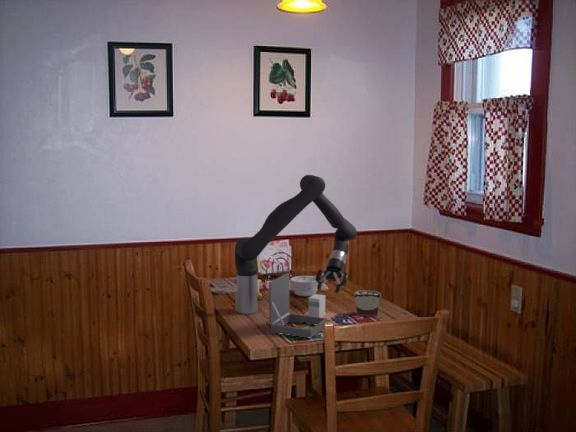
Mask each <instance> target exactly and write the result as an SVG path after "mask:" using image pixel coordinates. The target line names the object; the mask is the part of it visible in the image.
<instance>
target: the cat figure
mask: <svg viewBox="0 0 576 432" xmlns="http://www.w3.org/2000/svg"><path fill="white" fill-rule="evenodd" d="M257 280H258V300H259V301H262V300H264V298H263V294H262V292H265V291H266V290H267V285H266V283H264V282H263V281H262V280H261V279H258V278H257ZM260 289H263V290H262V292H260Z"/></svg>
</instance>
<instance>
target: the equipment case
mask: <svg viewBox="0 0 576 432" xmlns="http://www.w3.org/2000/svg"><path fill="white" fill-rule="evenodd" d="M268 284H269V285H268V286H269V287H268V289H269V290H268V293H269V295H268V297H269V299H268V303H269V305H268V306H269V307H268V310H269V313H268V314H269V316H268V317H269V318H268V319H269V322H268V323H269V325H270V332H271V333H270V334H274V333H283V334H289V335H295V336H303V337H312V336H314V335H315V334H317V333H318V332H319V331H321V330H322V328H323V324H324V323H326V322H327V318H320V317H313V316H306V315H304V314H299V313H298V314H297V313H291V312H290V272H287V273H285V274H282V275H281V276H279V277H278V278H275V279H273V280H270V281H269V282H268ZM290 321H293V322H292V323H295V322H305V323H310V324H317V325H314V326H313V327H311V329H307V328H299V327H293V326H287V324H286V323H288V322H289V323H291V322H290ZM289 323H288V324H289ZM327 323H328V322H327ZM285 324H286V325H285ZM284 325H285V326H284ZM322 331H323V330H322ZM322 331H321V332H322ZM318 334H319V333H318ZM318 334H317V335H318Z"/></svg>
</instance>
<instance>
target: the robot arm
mask: <svg viewBox="0 0 576 432" xmlns="http://www.w3.org/2000/svg"><path fill="white" fill-rule="evenodd" d="M299 187H300V192H298V193H297V194H296V195H295V196H293V197H291V198H289V199H287V200H286V201H283V202H281V203H280V204H279V205H277V206H276V207H275V208H274V209H273V210H272V211H271V212H270V213H269V214H268V215H267V217H266V219H265V221H264V223H263V225H262V227H261V228H260V229H259V230H258V231H257V233H255V234H254V235H253V236H252V237H251V238H249V237H242V238H240V239H238V240H237V241H236V243H235V245H234V262H235V263H234V264H235V265H234V266H235V269H236V290H235V291H234V293H235V294H234V295H235V297H234V298H235V299H234V300H235V301H234V302H235V307H234V309H235V312H237V313H239V314H243V315H244V314H245V315H248V314H249V315H251V314H255V313H257V312H258V309H259V305H258V303H259V302H258V301H259V299H258V280H257V279H258V267H257V265H256V260H255V259H256V258H258V257H259V256H260V254H261V253H262V252H263V251H264V250H265V248H266V247H267V246H268V245H269V243H271V241H273V239H274V238H276V237H277V236H278V235H279V234H280V233H281V232H282V231H283V230H284V229H285V228H286V227H287V226H288V225H289V224H290V223H291V222H292V221H294V219H295V218H296V217H298V215H299V214H301V212H303V211H304V209H306V208H307V207H308V206H309V205H310V204H311V203H312V202H313V203H314V204H315V206H316V207H317V208H318V209H319V211H320V212H321V213H322V215H323V216H324V217H325V219H326V220H327V222H328V223H329V225H330V226H331V227H332V228H333V229H336V230H335V232H334V246H333V249H332V252H331V254H330V255H329V256H330V257H329V259H328V263H327V266H326V269H325V270H322V269H319V270H318V271H317V275H316V276H315V277H316V279H315V280H316V282H317V283H318V286H317V289H318V290H317V292H321V290H322V286H323V284H324V283H327V282H336V283H337V284H336V287H335V289H334V293H335V294H339V293H340V291H341V288H342V287H346V285H347V282H348V277H349V276H348V273H347V272H346V271H345V272H344V273H343V271H344V267H345V264H346V261H347V256H348V253H349V249H350V244H349V243H347V242H349V241H353V240H355V239H356V238H357V236H358V233H357V232H358V231H357V229H356V227H355V226H354V225H353V224H352V223H351V222H350V221H349V220H347V219H346V218H344V216H343V215H342V213H341V211H340V210H339V209H338V208H337V207H336V206H335V204H333V203H332V201H331V200H329V198H328V197H326V195H325V194H324V191H325V188H326V182H325V180H324V179H323V178H322V177H320V176H316V175H314V174H306V175H304V176H303V177H302V178H301V179H300V182H299ZM341 278H342V280H341V281H340V279H341Z"/></svg>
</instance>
